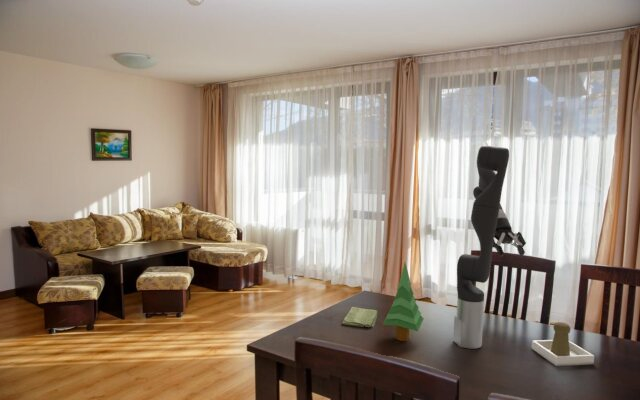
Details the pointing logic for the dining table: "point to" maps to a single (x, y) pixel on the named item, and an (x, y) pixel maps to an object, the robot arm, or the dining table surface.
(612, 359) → the dining table surface
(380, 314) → the dining table surface
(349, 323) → the washcloth
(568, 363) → the tray
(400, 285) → the decorative tree
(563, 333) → the cork
